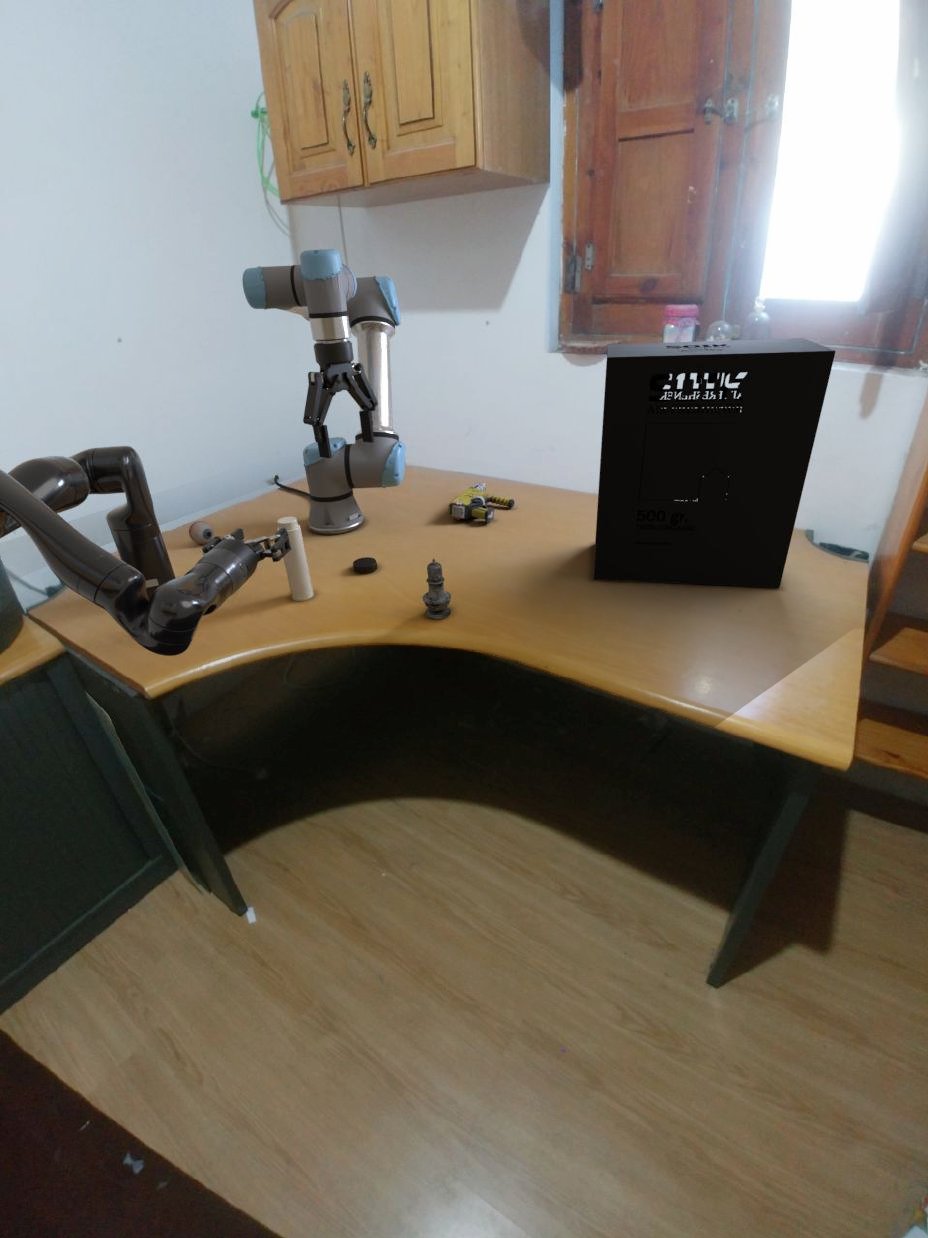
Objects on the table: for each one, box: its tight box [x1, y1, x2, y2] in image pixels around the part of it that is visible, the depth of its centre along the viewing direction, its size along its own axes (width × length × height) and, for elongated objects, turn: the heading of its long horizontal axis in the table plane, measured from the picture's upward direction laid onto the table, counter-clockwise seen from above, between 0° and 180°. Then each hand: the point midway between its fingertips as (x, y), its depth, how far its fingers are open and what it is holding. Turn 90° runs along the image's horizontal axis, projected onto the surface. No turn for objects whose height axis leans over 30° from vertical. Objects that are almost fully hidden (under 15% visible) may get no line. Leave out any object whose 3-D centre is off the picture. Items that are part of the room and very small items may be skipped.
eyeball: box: [188, 520, 214, 545], centre depth 161 cm, size 6×6×6 cm
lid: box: [352, 556, 378, 575], centre depth 143 cm, size 6×6×2 cm
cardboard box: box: [592, 337, 836, 589], centre depth 125 cm, size 38×20×45 cm, turn 78°
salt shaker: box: [422, 558, 453, 620], centre depth 120 cm, size 6×6×12 cm
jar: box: [276, 516, 315, 602], centre depth 128 cm, size 5×5×18 cm
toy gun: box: [448, 481, 515, 523], centre depth 173 cm, size 5×24×15 cm
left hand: (263, 532), depth 113 cm, fingers open, 8 cm apart
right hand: (348, 449), depth 129 cm, fingers open, 13 cm apart
